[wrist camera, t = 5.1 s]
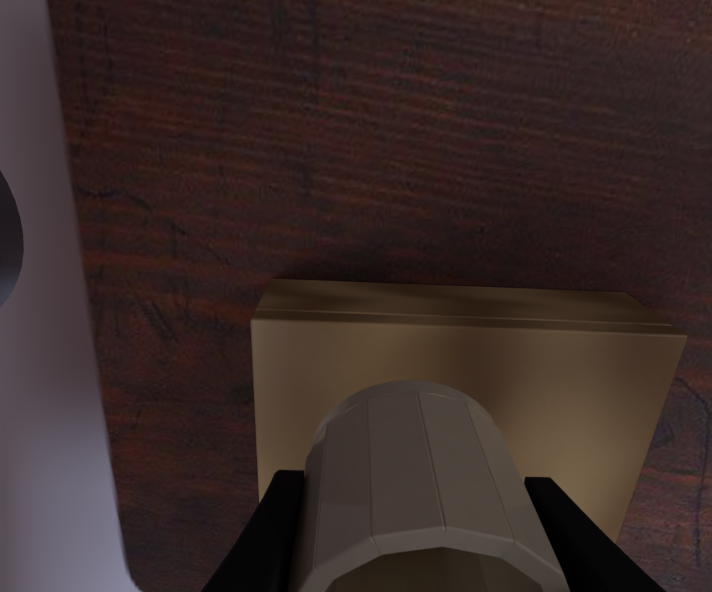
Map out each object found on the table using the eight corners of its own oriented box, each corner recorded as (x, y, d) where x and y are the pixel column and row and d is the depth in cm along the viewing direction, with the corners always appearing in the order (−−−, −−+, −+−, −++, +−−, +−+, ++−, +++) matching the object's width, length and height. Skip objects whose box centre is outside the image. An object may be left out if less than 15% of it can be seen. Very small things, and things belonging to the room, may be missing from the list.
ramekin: (308, 532, 14) (287, 720, 9) (307, 373, 12) (280, 523, 7) (488, 537, 14) (546, 725, 10) (519, 380, 12) (610, 532, 7)
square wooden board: (278, 567, 24) (265, 645, 21) (270, 277, 18) (249, 318, 15) (546, 574, 24) (578, 654, 21) (625, 291, 18) (689, 335, 15)
